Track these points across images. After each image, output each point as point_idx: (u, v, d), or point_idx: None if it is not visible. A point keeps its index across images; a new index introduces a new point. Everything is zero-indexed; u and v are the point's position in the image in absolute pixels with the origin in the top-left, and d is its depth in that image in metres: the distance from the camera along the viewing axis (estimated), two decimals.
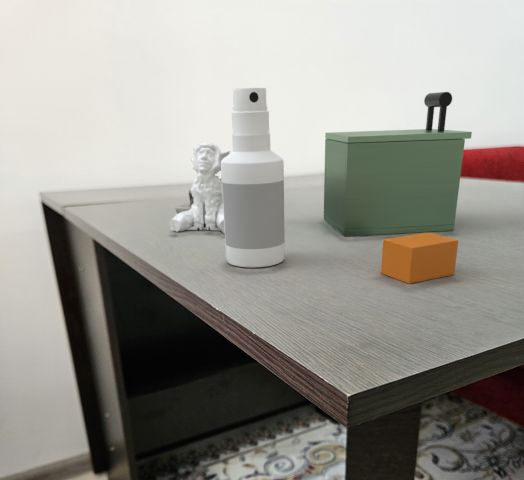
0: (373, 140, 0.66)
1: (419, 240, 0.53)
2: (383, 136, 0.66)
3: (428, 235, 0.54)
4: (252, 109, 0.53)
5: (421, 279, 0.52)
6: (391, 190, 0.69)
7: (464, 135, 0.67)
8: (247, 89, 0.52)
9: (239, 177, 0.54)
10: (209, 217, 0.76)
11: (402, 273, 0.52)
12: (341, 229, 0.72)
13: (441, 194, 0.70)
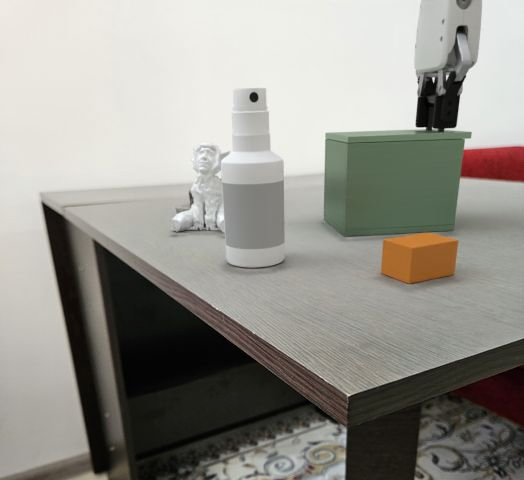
0: (373, 140, 0.66)
1: (419, 240, 0.53)
2: (383, 136, 0.66)
3: (428, 235, 0.54)
4: (252, 109, 0.53)
5: (421, 279, 0.52)
6: (391, 190, 0.69)
7: (464, 135, 0.67)
8: (247, 89, 0.52)
9: (239, 177, 0.54)
10: (209, 217, 0.76)
11: (402, 273, 0.52)
12: (341, 229, 0.72)
13: (441, 194, 0.70)
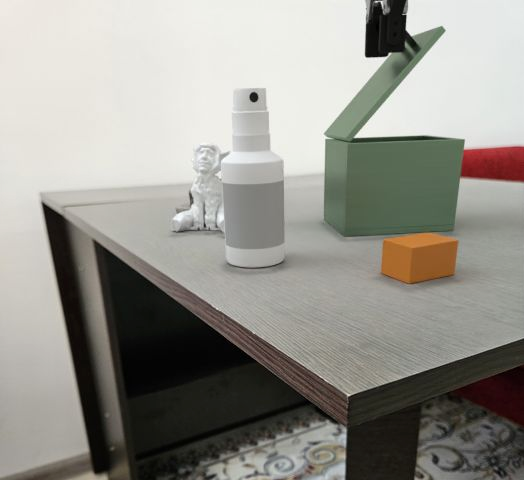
0: (367, 119, 0.65)
1: (419, 240, 0.53)
2: (372, 108, 0.65)
3: (428, 235, 0.54)
4: (252, 109, 0.53)
5: (421, 279, 0.52)
6: (391, 190, 0.69)
7: (438, 35, 0.62)
8: (247, 89, 0.52)
9: (239, 177, 0.54)
10: (209, 217, 0.76)
11: (402, 273, 0.52)
12: (341, 229, 0.72)
13: (441, 194, 0.70)
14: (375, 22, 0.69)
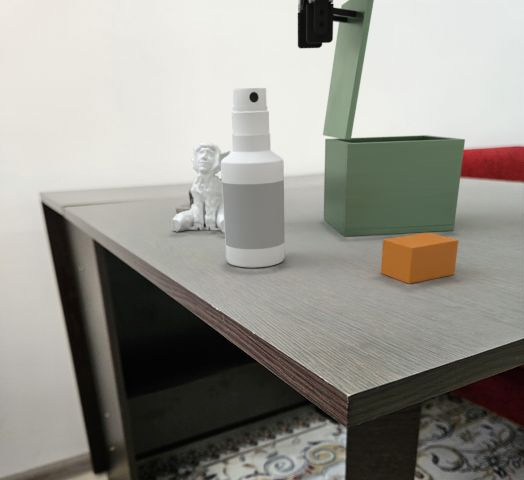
0: (354, 111, 0.65)
1: (419, 240, 0.53)
2: (352, 99, 0.64)
3: (428, 235, 0.54)
4: (252, 109, 0.53)
5: (421, 279, 0.52)
6: (391, 190, 0.69)
7: None
8: (247, 89, 0.52)
9: (239, 177, 0.54)
10: (209, 217, 0.76)
11: (402, 273, 0.52)
12: (341, 229, 0.72)
13: (441, 194, 0.70)
14: None
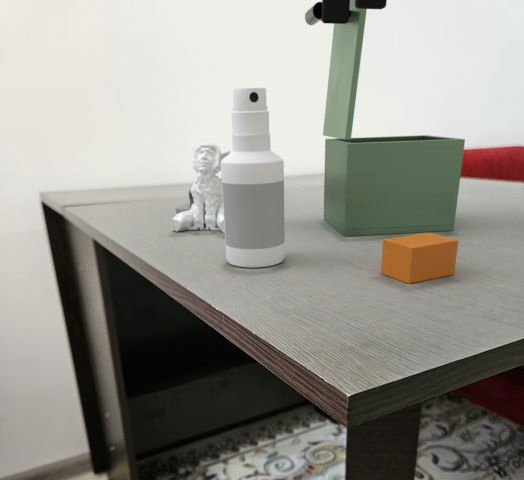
0: (352, 110, 0.65)
1: (419, 240, 0.53)
2: (350, 99, 0.64)
3: (428, 235, 0.54)
4: (252, 109, 0.53)
5: (421, 279, 0.52)
6: (391, 190, 0.69)
7: None
8: (247, 89, 0.52)
9: (239, 177, 0.54)
10: (209, 217, 0.76)
11: (402, 273, 0.52)
12: (341, 229, 0.72)
13: (441, 194, 0.70)
14: None
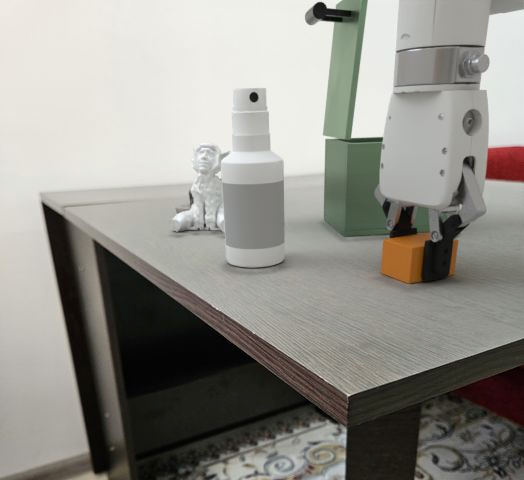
0: (352, 110, 0.65)
1: (419, 240, 0.53)
2: (350, 99, 0.64)
3: (428, 235, 0.54)
4: (252, 109, 0.53)
5: (421, 279, 0.52)
6: None
7: None
8: (247, 89, 0.52)
9: (239, 177, 0.54)
10: (209, 217, 0.76)
11: (402, 273, 0.52)
12: (341, 229, 0.72)
13: None
14: (402, 230, 0.54)
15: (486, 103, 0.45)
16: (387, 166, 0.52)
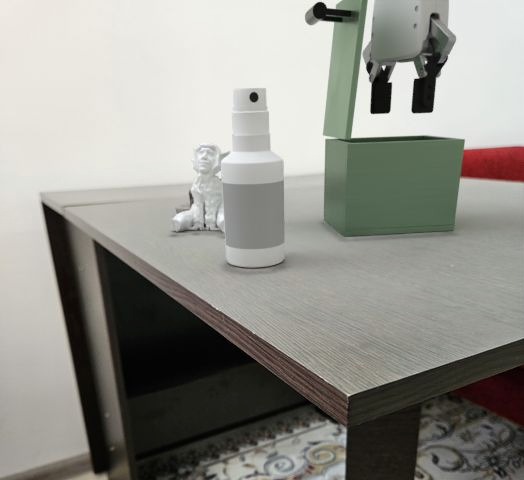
0: (352, 110, 0.65)
1: None
2: (350, 99, 0.64)
3: None
4: (252, 109, 0.53)
5: None
6: (391, 190, 0.69)
7: None
8: (247, 89, 0.52)
9: (239, 177, 0.54)
10: (209, 217, 0.76)
11: None
12: (341, 229, 0.72)
13: (441, 194, 0.70)
14: (380, 82, 0.73)
15: None
16: (376, 33, 0.69)
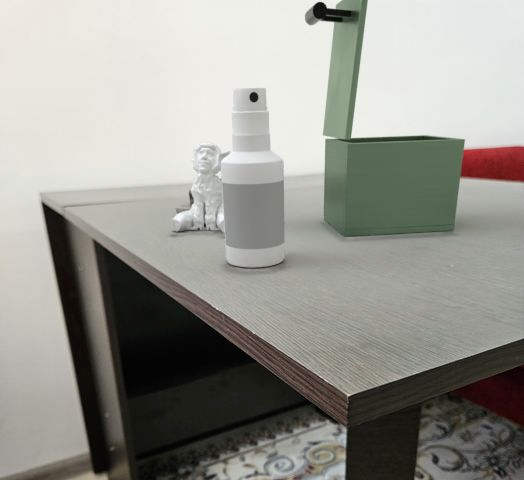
0: (352, 110, 0.65)
1: None
2: (350, 99, 0.64)
3: None
4: (252, 109, 0.53)
5: None
6: (391, 190, 0.69)
7: None
8: (247, 89, 0.52)
9: (239, 177, 0.54)
10: (209, 217, 0.76)
11: None
12: (341, 229, 0.72)
13: (441, 194, 0.70)
14: None
15: None
16: None
